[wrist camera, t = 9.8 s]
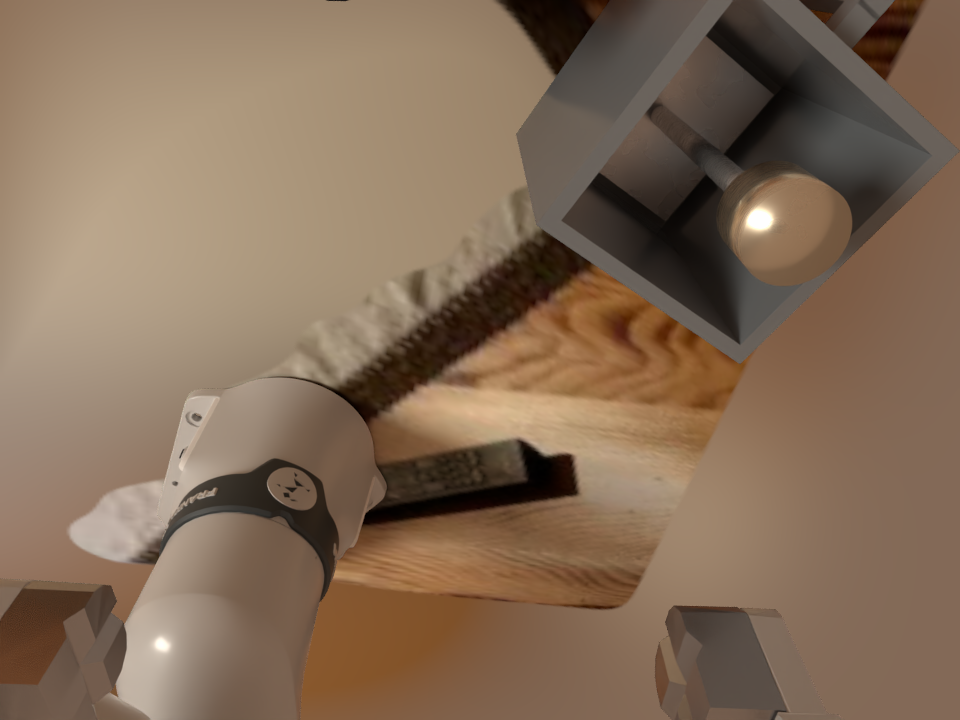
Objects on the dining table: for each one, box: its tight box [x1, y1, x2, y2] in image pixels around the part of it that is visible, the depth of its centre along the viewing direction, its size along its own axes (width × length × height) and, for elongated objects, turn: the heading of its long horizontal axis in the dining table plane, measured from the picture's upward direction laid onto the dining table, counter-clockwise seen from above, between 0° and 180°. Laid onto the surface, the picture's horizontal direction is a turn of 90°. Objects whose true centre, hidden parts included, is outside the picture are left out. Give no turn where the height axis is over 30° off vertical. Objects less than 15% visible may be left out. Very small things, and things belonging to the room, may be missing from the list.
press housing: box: [516, 0, 959, 364], centre depth 37 cm, size 16×13×18 cm
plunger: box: [599, 36, 852, 286], centre depth 35 cm, size 10×10×22 cm
